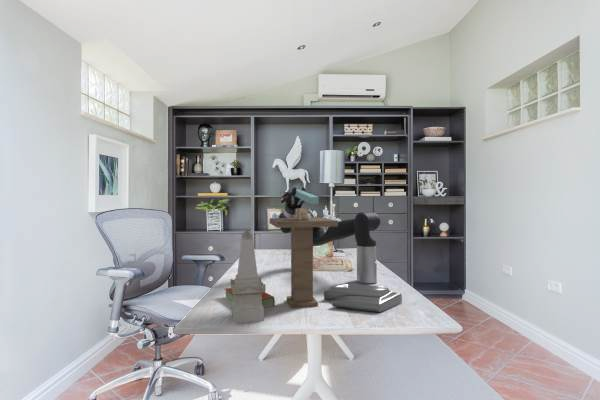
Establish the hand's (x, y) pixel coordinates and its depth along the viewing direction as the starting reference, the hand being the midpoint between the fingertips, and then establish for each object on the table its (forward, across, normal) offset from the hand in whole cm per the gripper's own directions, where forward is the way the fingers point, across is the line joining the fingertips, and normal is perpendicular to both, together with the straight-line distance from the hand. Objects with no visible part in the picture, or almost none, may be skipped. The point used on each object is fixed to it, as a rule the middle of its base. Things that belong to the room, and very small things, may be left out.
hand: (299, 189), depth 146 cm
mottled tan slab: (-66, -28, -15) cm, 73 cm away
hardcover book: (-16, +23, -42) cm, 50 cm away
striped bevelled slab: (-6, -20, -48) cm, 52 cm away
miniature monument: (+1, +25, -50) cm, 56 cm away
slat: (+5, 0, -8) cm, 10 cm away
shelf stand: (-9, +3, -45) cm, 46 cm away
